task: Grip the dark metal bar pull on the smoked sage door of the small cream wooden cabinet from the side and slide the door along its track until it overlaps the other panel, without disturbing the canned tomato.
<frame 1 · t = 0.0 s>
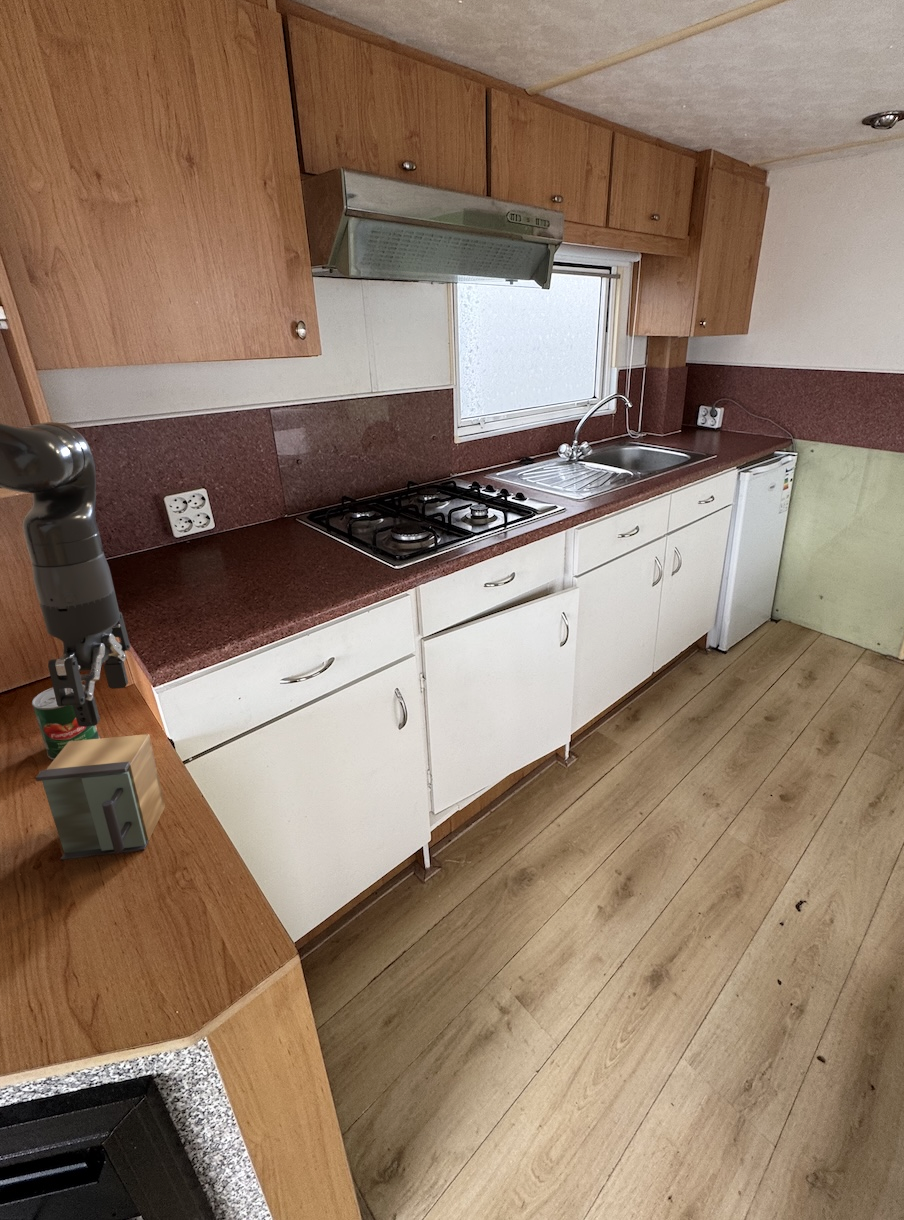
hand: (105, 704, 76), 25 cm above the counter, tool pointing down, fingers open, 8 cm apart
canned tomato: (74, 747, 106), on the counter
cabinet: (118, 828, 88), on the counter
slide door: (108, 823, 80), point 7 cm above the counter, slide at 0.0 cm
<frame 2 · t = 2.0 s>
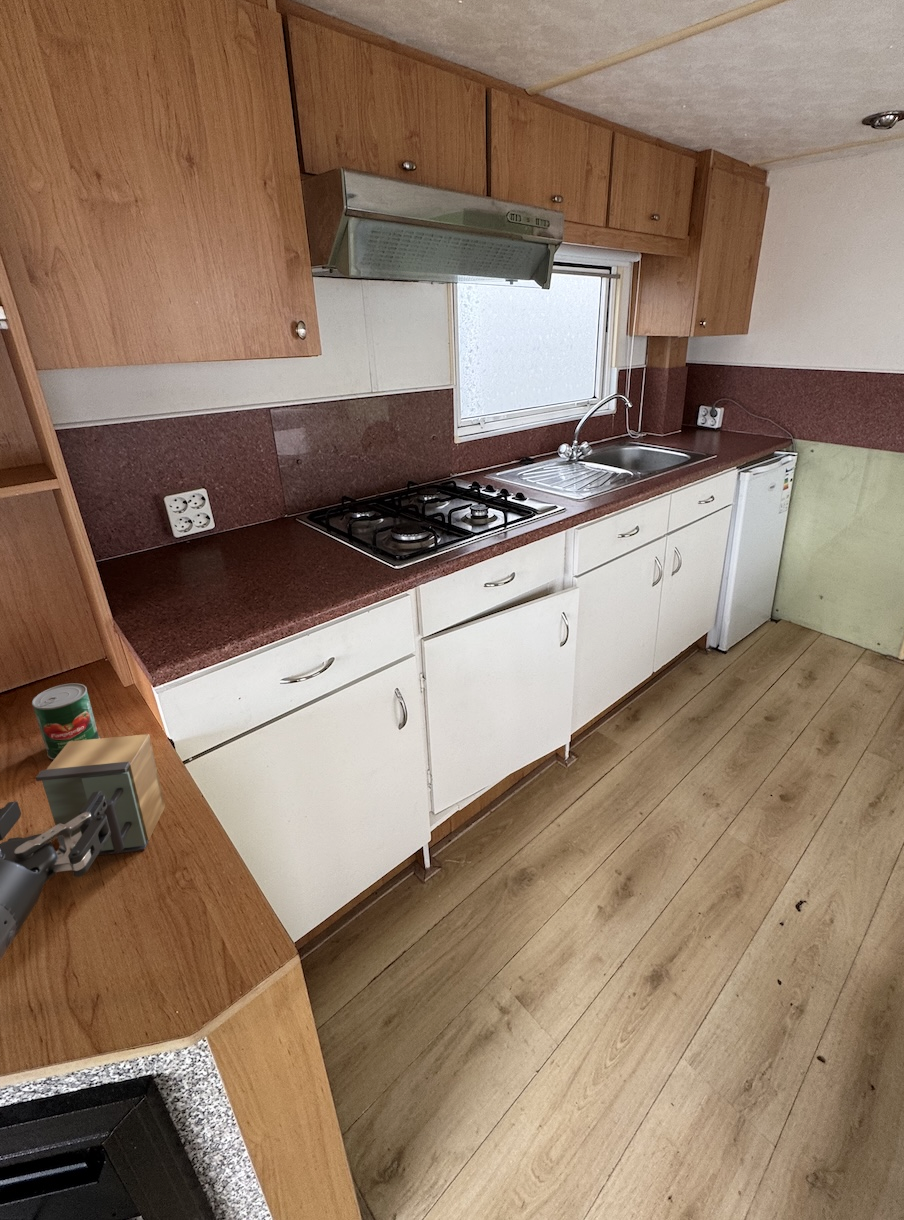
hand: (58, 802, 66), 20 cm above the counter, tool horizontal, fingers open, 8 cm apart
nothing on the counter moved.
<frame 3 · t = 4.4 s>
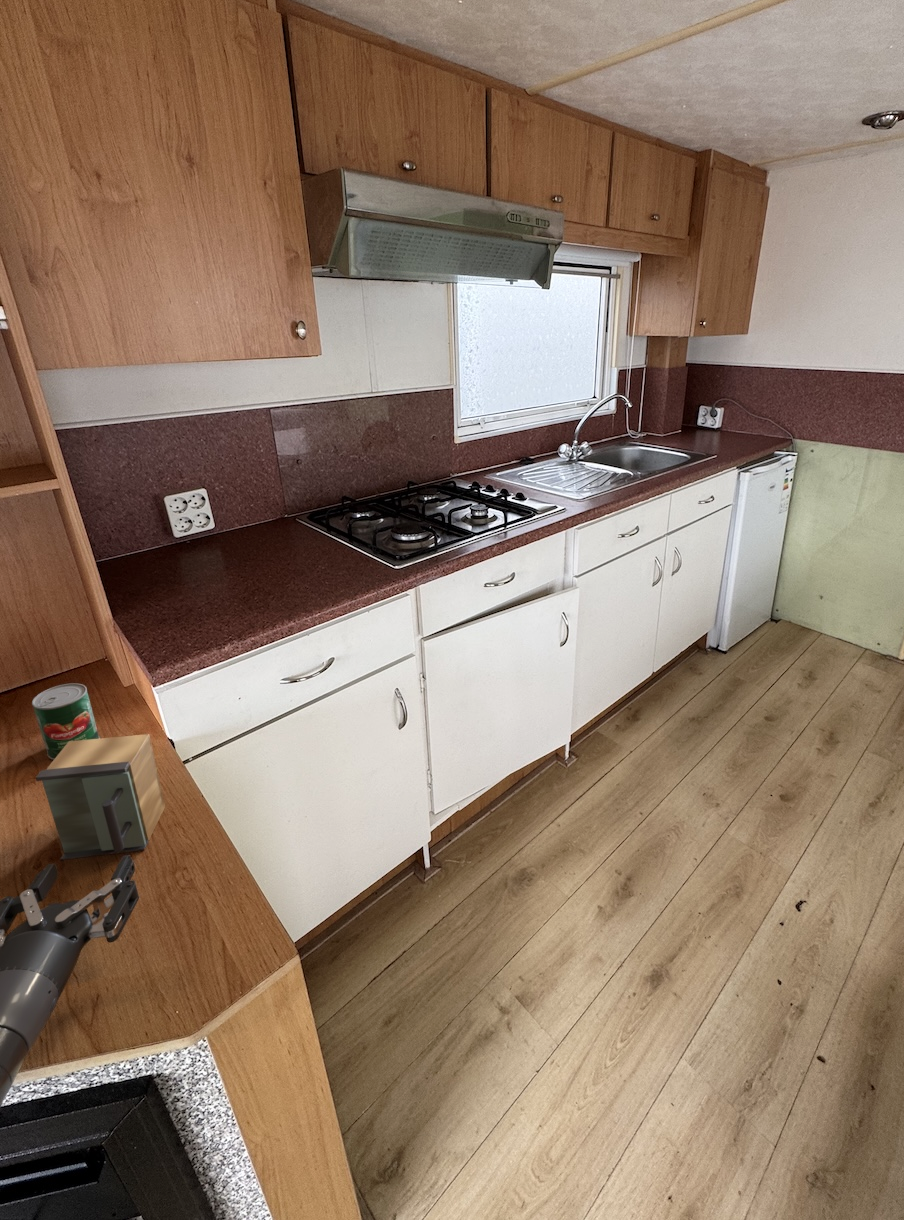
hand: (91, 864, 73), 8 cm above the counter, tool horizontal, fingers open, 8 cm apart
nothing on the counter moved.
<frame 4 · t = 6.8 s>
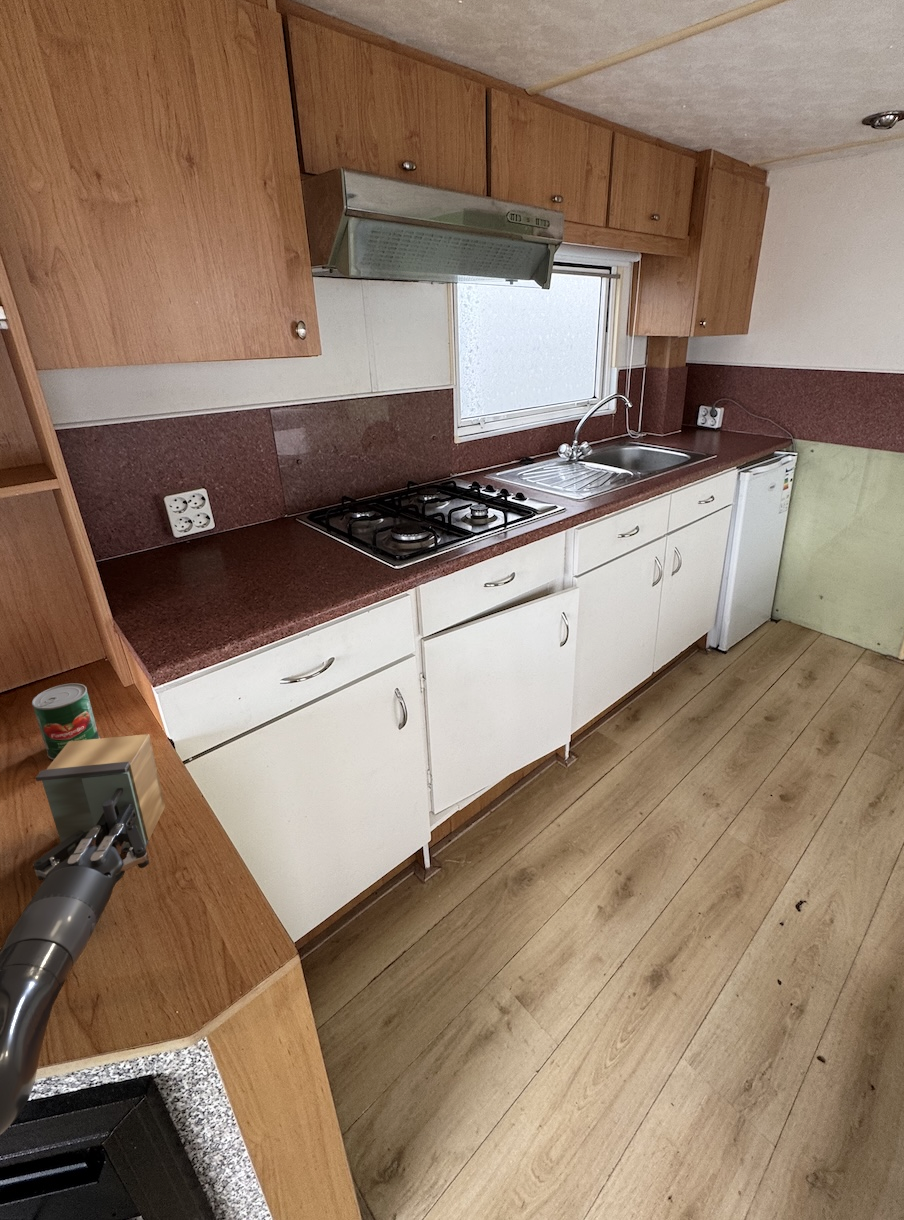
hand: (122, 810, 81), 8 cm above the counter, tool horizontal, fingers closed
slide door: (108, 823, 80), point 7 cm above the counter, slide at 0.0 cm, touching gripper
everything else where it was.
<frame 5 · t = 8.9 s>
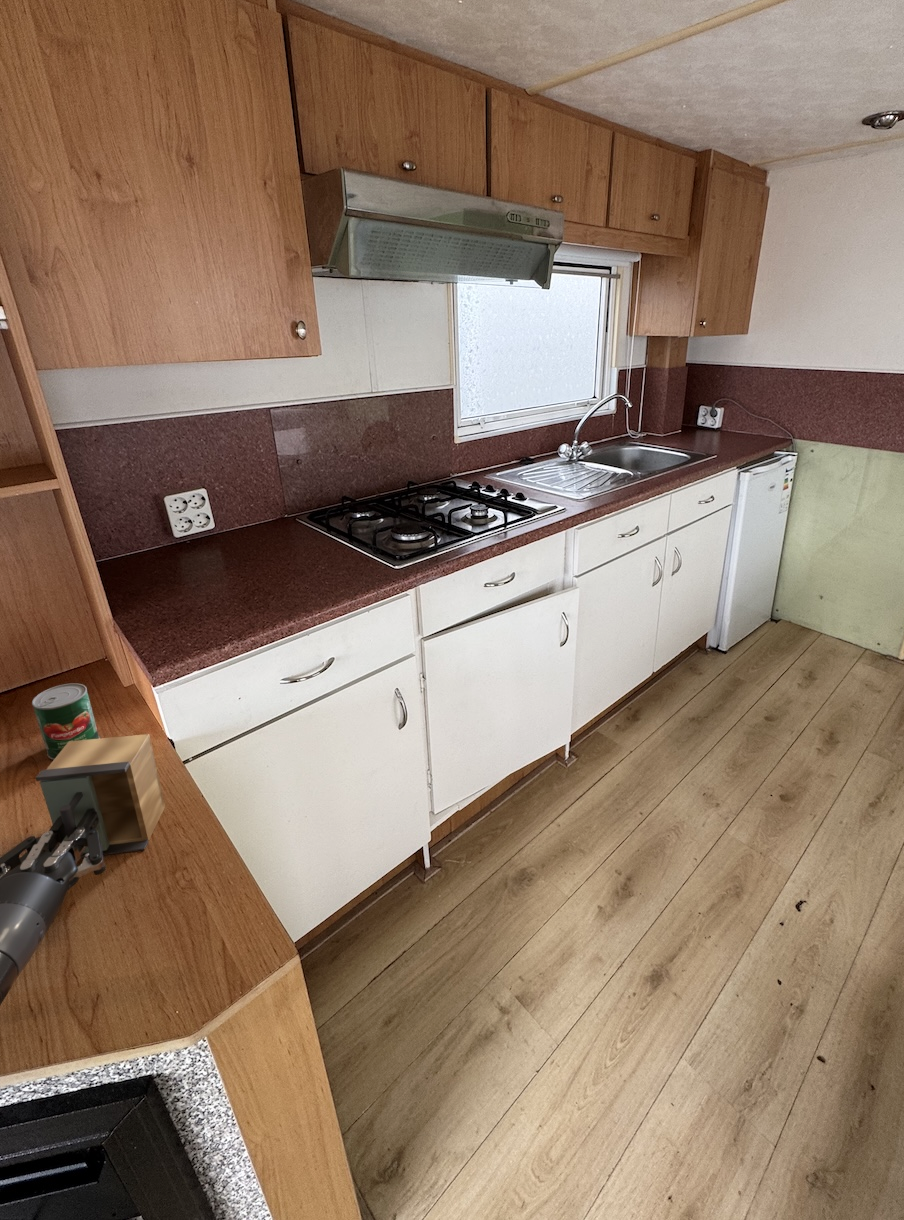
hand: (81, 814, 80), 8 cm above the counter, tool horizontal, fingers closed
slide door: (67, 827, 79), point 7 cm above the counter, slide at 5.1 cm
everything else where it was.
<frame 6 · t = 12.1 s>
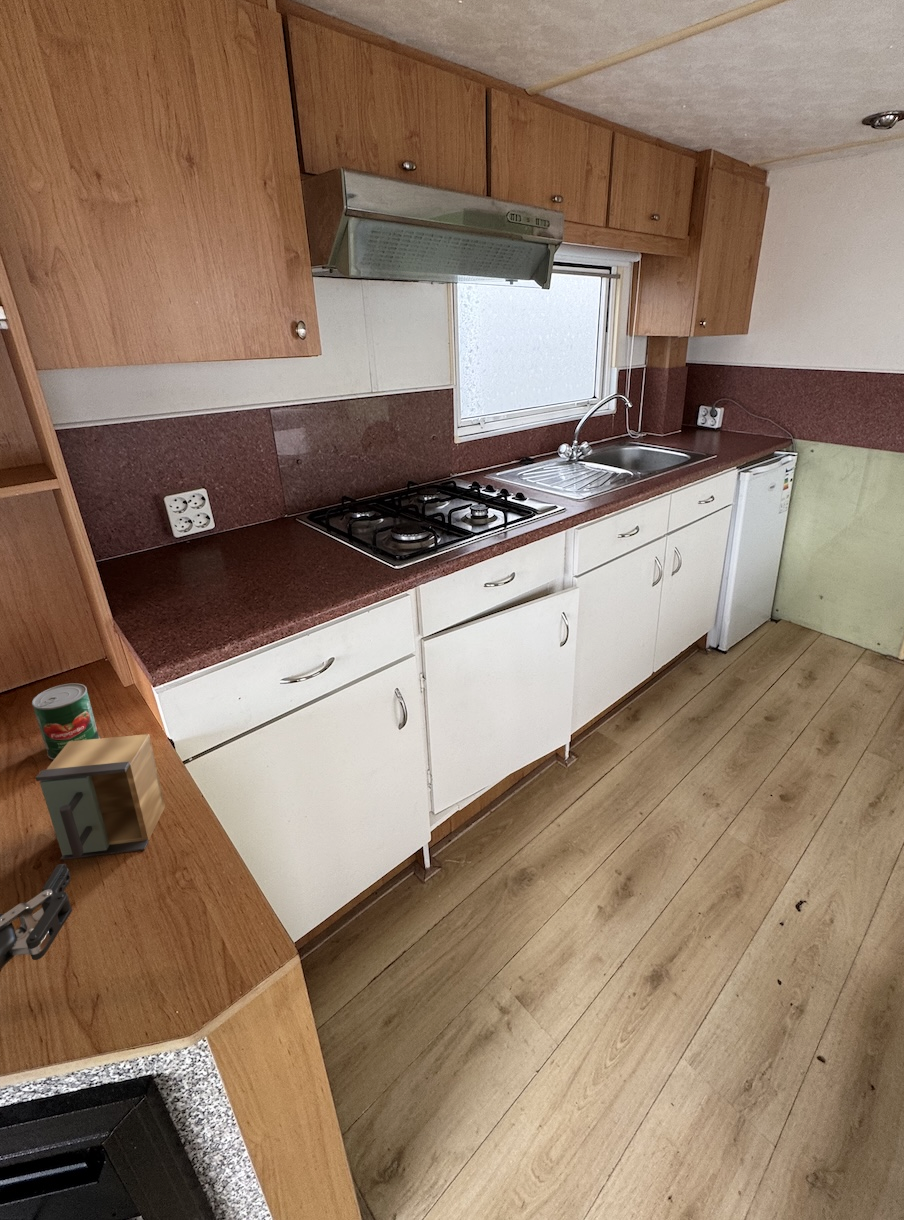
hand: (23, 874, 68), 11 cm above the counter, tool horizontal, fingers open, 8 cm apart
nothing on the counter moved.
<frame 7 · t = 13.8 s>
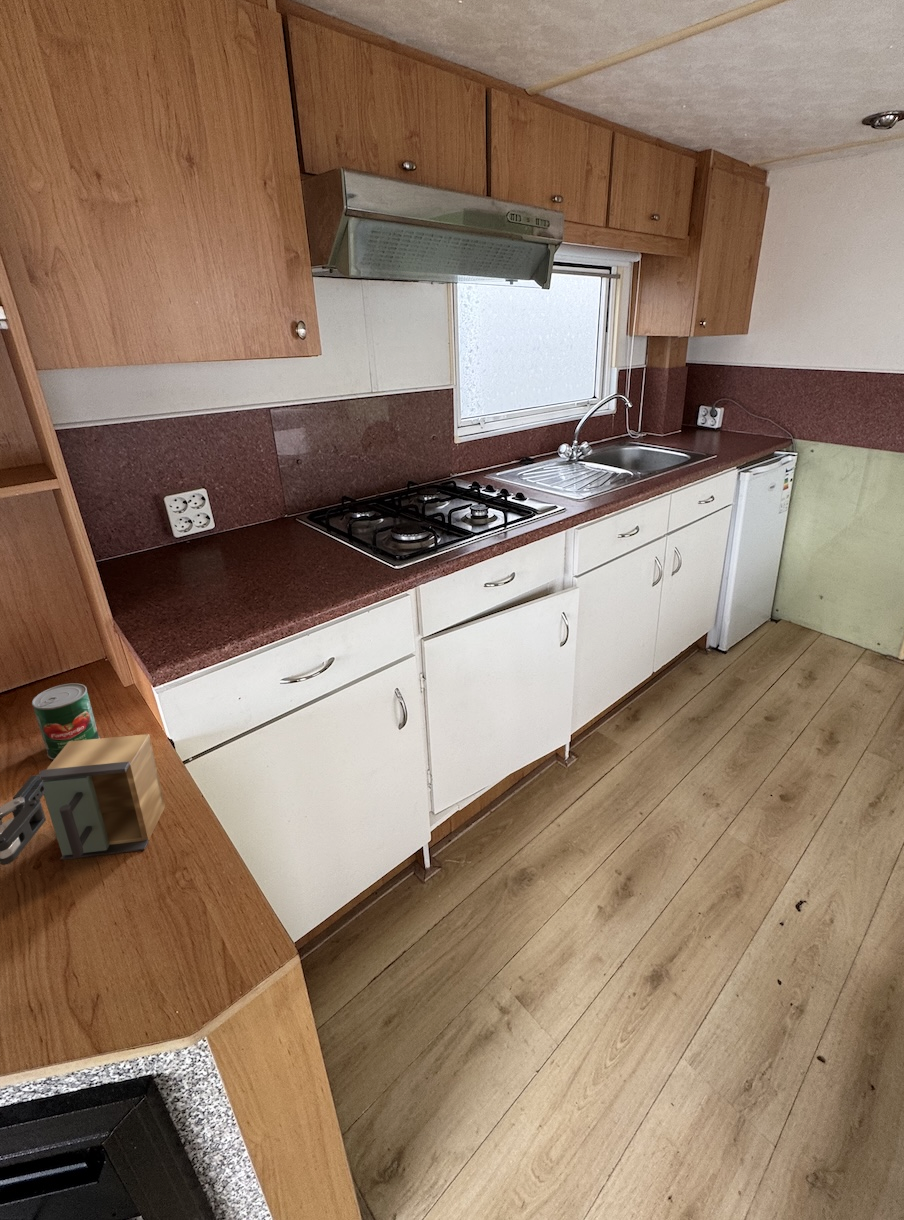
nothing on the counter moved.
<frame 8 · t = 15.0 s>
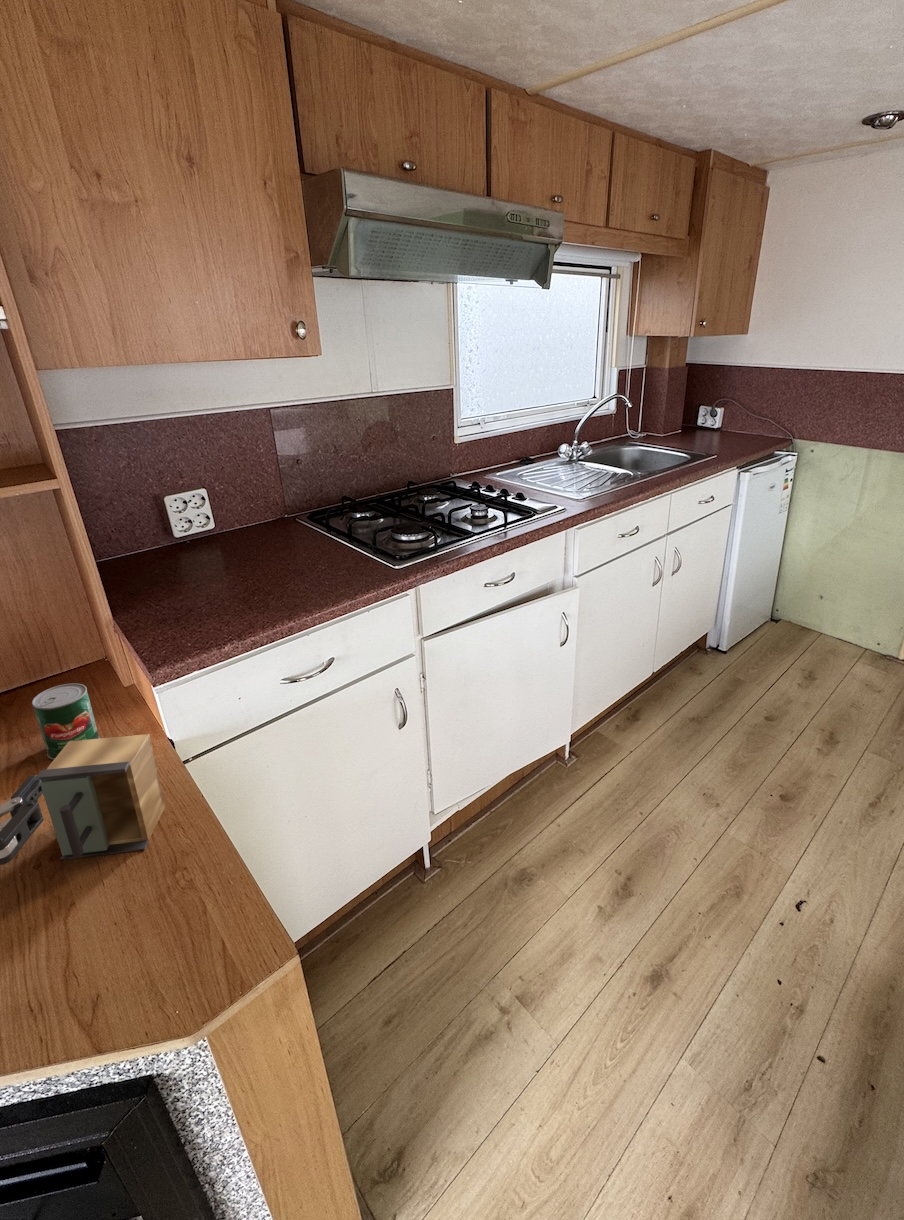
nothing on the counter moved.
at the end: slide door slide at 5.1 cm; canned tomato moved 0.2 cm from its start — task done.
